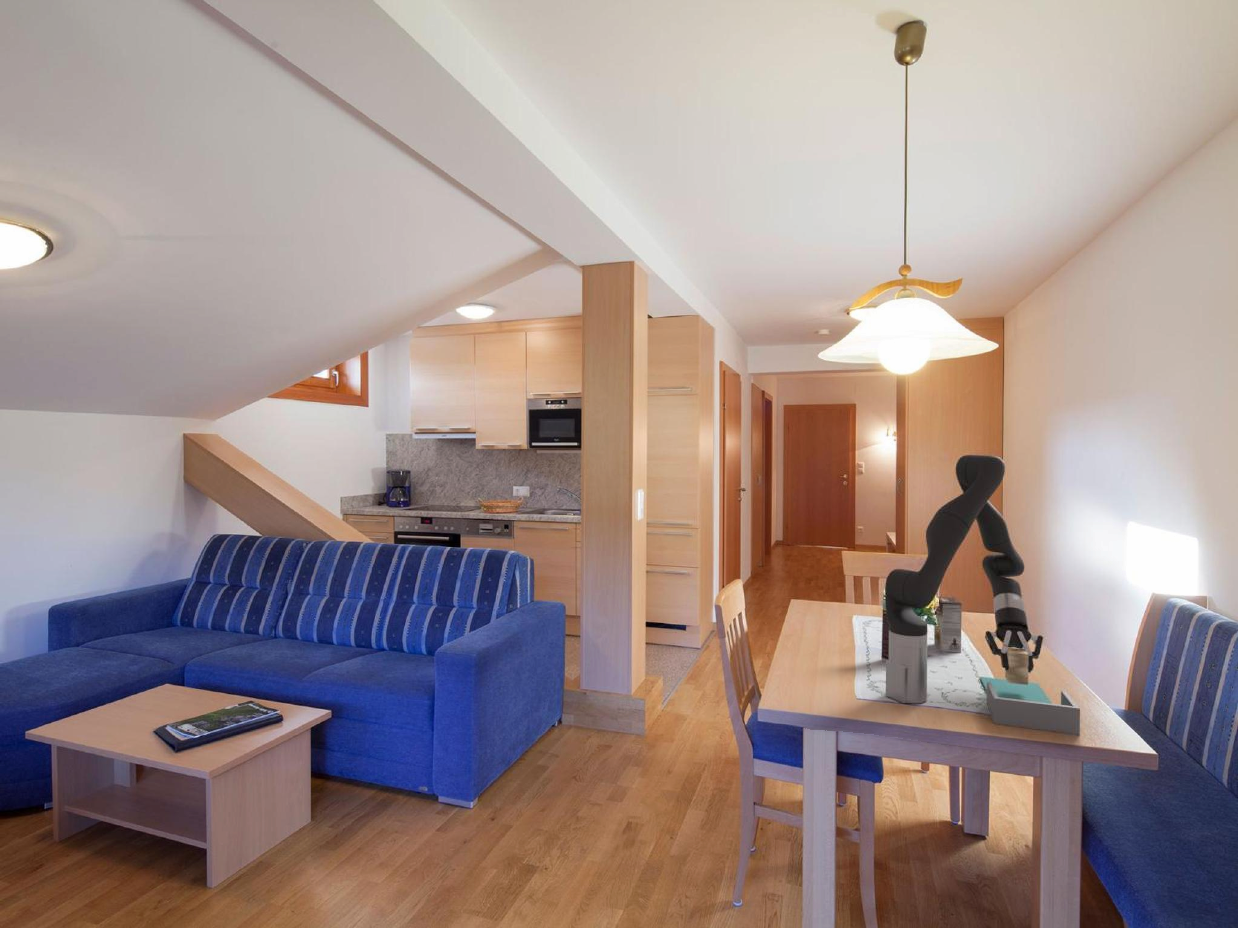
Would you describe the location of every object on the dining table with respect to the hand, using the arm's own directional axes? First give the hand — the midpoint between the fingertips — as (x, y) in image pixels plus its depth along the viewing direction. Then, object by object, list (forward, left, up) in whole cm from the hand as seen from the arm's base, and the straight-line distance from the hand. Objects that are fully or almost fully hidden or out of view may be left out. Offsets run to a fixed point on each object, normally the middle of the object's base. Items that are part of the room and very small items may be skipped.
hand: (1018, 669), depth 172 cm
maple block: (+1, +1, -4) cm, 4 cm away
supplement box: (-5, +35, -7) cm, 36 cm away
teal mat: (+3, +3, -7) cm, 8 cm away
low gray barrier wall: (-11, -11, -7) cm, 17 cm away
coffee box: (+21, +39, -8) cm, 45 cm away
